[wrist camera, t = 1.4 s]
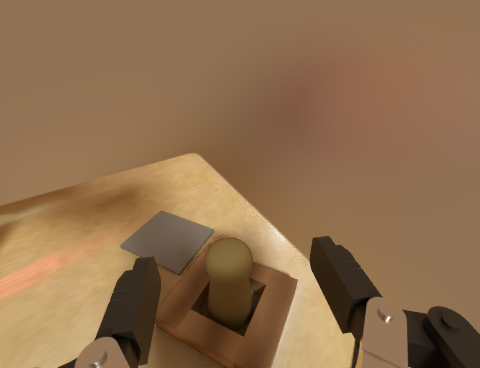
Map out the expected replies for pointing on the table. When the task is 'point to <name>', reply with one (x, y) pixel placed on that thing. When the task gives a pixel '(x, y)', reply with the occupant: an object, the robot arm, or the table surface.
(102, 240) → the table surface
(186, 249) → the rubber mat
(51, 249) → the table surface
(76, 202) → the table surface
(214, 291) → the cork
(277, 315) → the socket block
